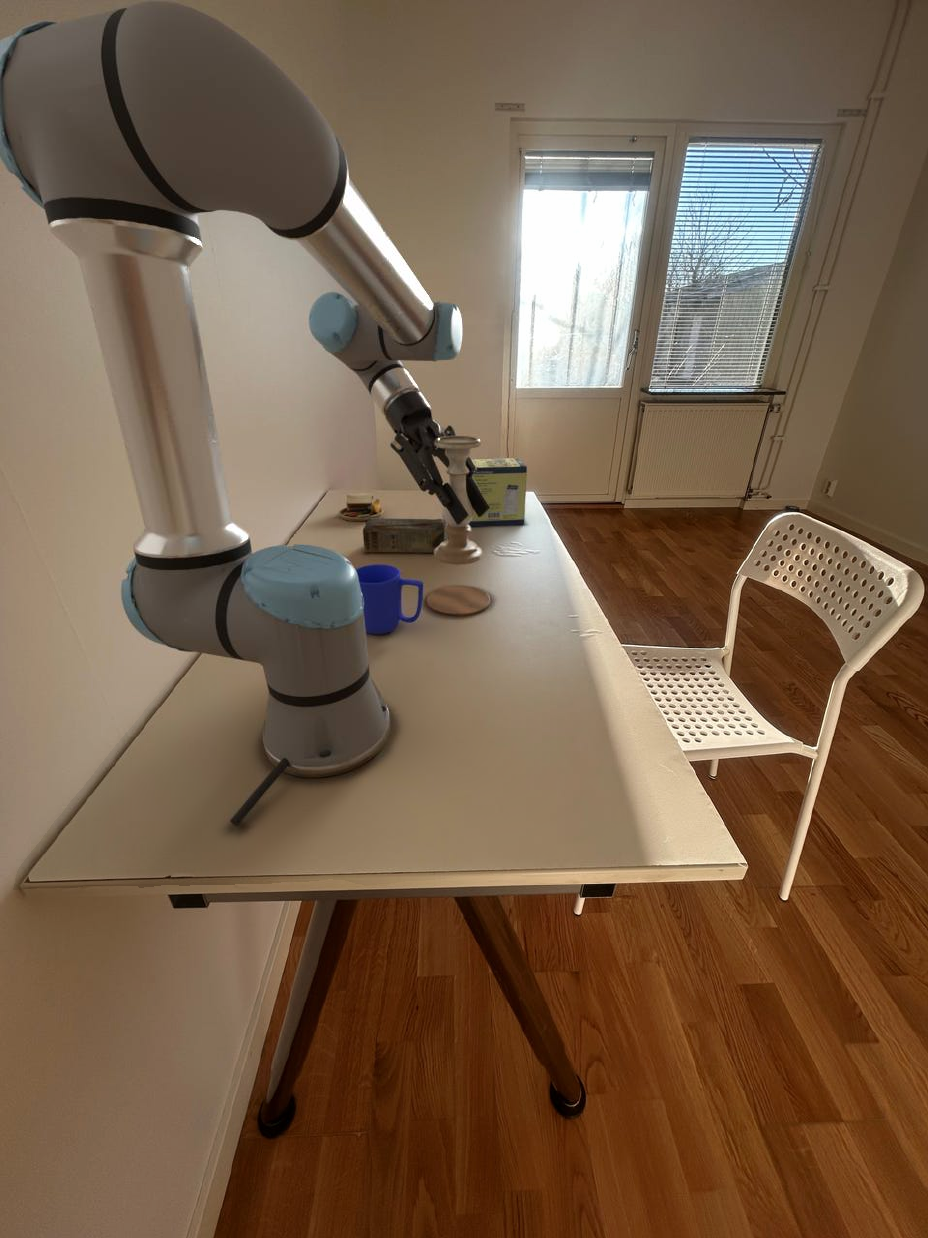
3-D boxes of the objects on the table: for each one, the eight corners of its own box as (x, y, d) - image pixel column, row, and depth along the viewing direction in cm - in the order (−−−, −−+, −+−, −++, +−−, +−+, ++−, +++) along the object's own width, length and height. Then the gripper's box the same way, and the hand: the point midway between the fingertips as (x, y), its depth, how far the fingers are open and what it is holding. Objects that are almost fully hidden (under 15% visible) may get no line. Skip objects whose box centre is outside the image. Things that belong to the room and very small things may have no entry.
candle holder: (432, 548, 96) (429, 435, 87) (479, 546, 97) (480, 434, 88) (435, 566, 89) (431, 444, 79) (485, 564, 90) (488, 443, 80)
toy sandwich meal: (333, 522, 140) (331, 505, 138) (345, 508, 152) (343, 492, 150) (379, 522, 140) (377, 505, 138) (387, 508, 152) (386, 492, 149)
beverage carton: (446, 554, 119) (445, 526, 116) (363, 554, 119) (360, 526, 116) (447, 542, 126) (446, 515, 123) (369, 542, 126) (366, 516, 123)
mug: (418, 643, 84) (415, 587, 79) (348, 636, 86) (341, 581, 81) (431, 620, 91) (429, 567, 86) (366, 613, 93) (360, 562, 88)
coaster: (468, 621, 90) (468, 619, 90) (413, 605, 96) (413, 603, 96) (501, 596, 99) (501, 594, 99) (450, 582, 105) (450, 581, 104)
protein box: (463, 515, 145) (463, 458, 138) (517, 513, 146) (520, 457, 139) (467, 527, 136) (467, 467, 128) (525, 525, 137) (528, 465, 130)
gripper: (429, 414, 97) (494, 516, 95) (352, 424, 86) (425, 541, 84) (448, 385, 92) (518, 492, 90) (370, 392, 80) (448, 516, 78)
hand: (473, 515), depth 87 cm, fingers closed on candle holder, 5 cm apart
